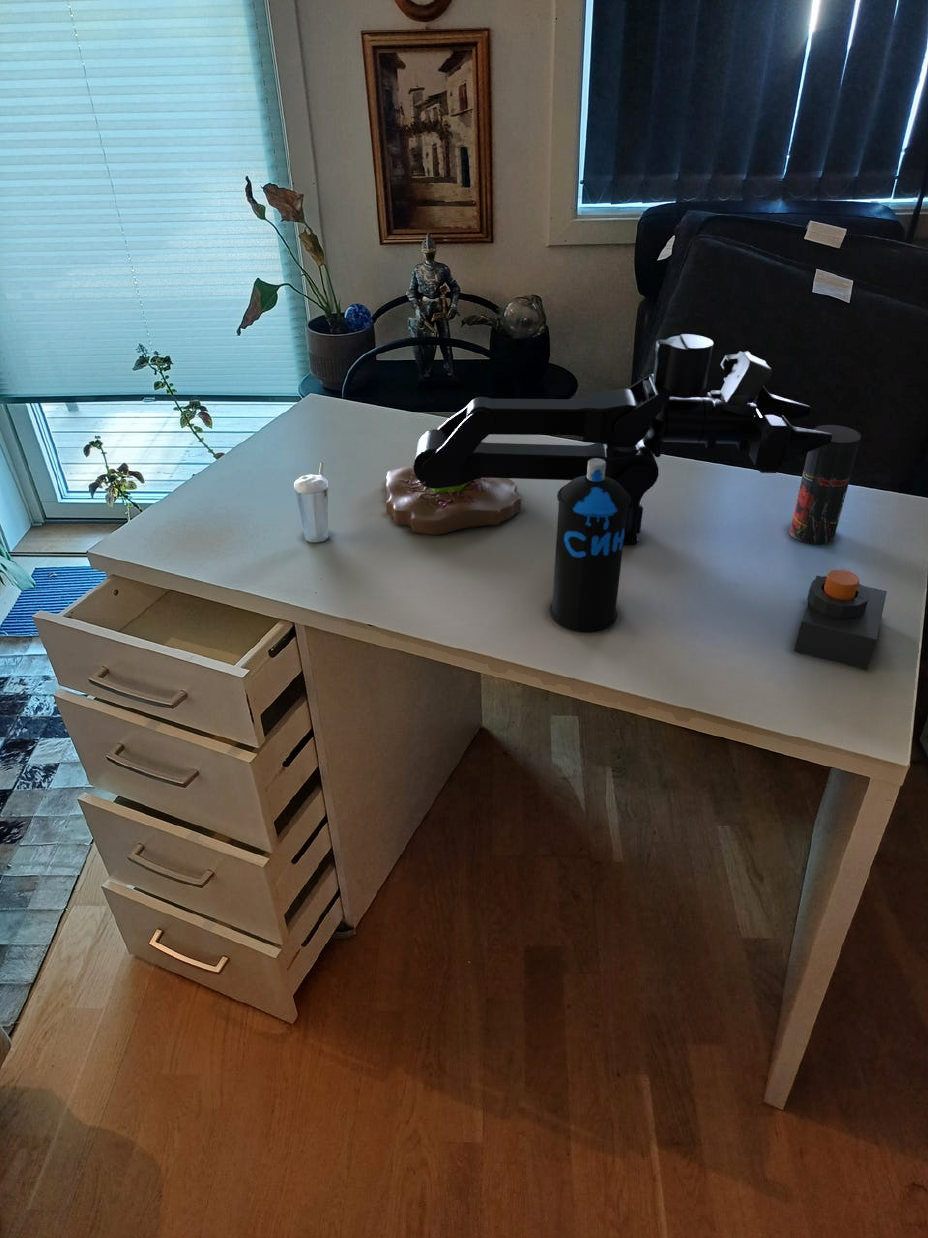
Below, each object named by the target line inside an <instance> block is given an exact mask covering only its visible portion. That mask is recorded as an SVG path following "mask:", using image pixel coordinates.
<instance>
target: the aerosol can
mask: <svg viewBox="0 0 928 1238" xmlns="http://www.w3.org/2000/svg"><path fill="white" fill-rule="evenodd" d="M605 468H606V462H605V461H604V460H602V459H598V458H594V459H590V460H589V461H588V469H587V475H585V476H580V477H577V478H575V479H573V480H569V481H568V483H566V484H565V485H564V486H562V487H560V488H559V490H558V491H557V494H556V499H557V501H558V509H557V510H558V511H557V525H556V541H555V554H554V569H553V572H554V573H553V584H552V585H553V586H552V597H551V604H550V606H549V615H550V617H551V619H552V620H553V621H554V622H555V623H556V624H558V625H559V626H561V627H563V628H565V629H567V630H571V631H574V632H580V633H591V632H592V633H593V632H598V631H602V630H605V629H607V628H609V627H611V626H612V625H613V624H614V623H615V622H616V620H617V618H618V609H617V602H618V593H619V585H620V576H621V568H622V561H623V551H624V544H623V543H624V534H625V525H626V517H627V508H628V506H629V505H630V503H631V498H630V495H629V494H628V492H627V491H626V490H624V488H623V487H622V486H621V485H620V484H619V483H618V482H616V481H615V480H613V479H610V478H608V477H605Z"/></svg>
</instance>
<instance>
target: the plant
mask: <svg viewBox="0 0 928 1238" xmlns="http://www.w3.org/2000/svg"><path fill="white" fill-rule="evenodd" d="M442 425H443V424H440V425H438V426H437V428H436V429H438V428H439V427H440V426H442ZM385 490H386V502H385V507H386V515H389V516H390V517H392V518H393V522H394V523H395V524H396V525H401V526H409V527H411V531H412V533H413V532H414V533H416V534H417V533H418V534H422V535H430V536H434V535H436V536H437V535H444V534H448V533H452V532H456V531H458V530H463V529H468V528H475V527H483V526H497V525H500V524H501V523H502V522H505V521H508V520H510V519H511V518H513V516H514V515H516V514H518V513H520V512H521V510H522V498H521V497H520V496H519V495H518V485H517V484H516V482H515V481H514V480H512V479H511V478H479V479H476V480H474V481H471V482H469V483H466V484H463V485H460V486H454V487H446V488H439V489H433V488H428V487H426V486H424V485H423V484H422V483H421V482H420V481H419V480H418V479H417V477H416V475H415V473H414V464H413V465H408V466H404V467H399V468H395V469H392V470H388V471H387V474H386V476H385Z"/></svg>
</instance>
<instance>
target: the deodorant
mask: <svg viewBox="0 0 928 1238" xmlns="http://www.w3.org/2000/svg"><path fill="white" fill-rule="evenodd" d="M812 430H816V431H822V432H826V433H831V434H832V440H831V442H830V443H828V444H826V445H824V446H821V447H819V448H817V449H814V450H812V451H810V452H807V453H806V459H805V463H804V467H803V472H802V476H801V480H800V484H799V488H798V493H797V498H796V502H795V506H794V509H793V510H794V511H793V515H792V519H791V522H790V523H791V524H790V527H789V534H790V536H791V537H792V538H793V539H795V540H796V541H798V542H801V543H803V544H807V545H813V546H824V545H829V544H830V543H832V542H833V541H834V540H835V536H836V534H837V529H838V526H839V521H840V517H841V514H842V510H843V506H844V502H845V499H846V495H847V491H848V487H849V484H850V480H851V476H852V472H853V469H854V466H855V462H856V457H857V454H858V450H859V447H860V443H861V438H862V436H861V434H860V432H858V431H857V430H855V429H853V428H851V427H847V426H842V425H837V424H822V425H817V426H815V427H813V429H812Z"/></svg>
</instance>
